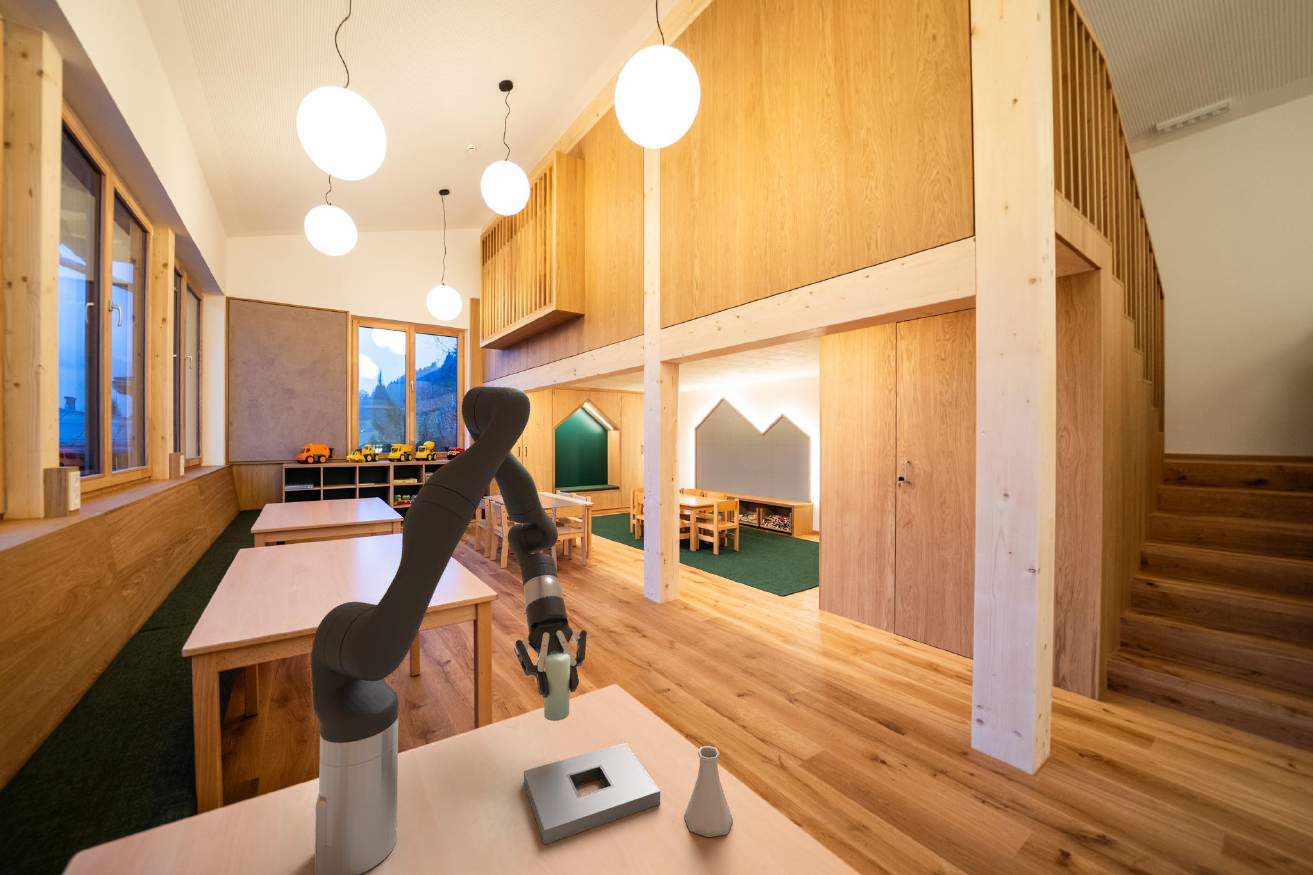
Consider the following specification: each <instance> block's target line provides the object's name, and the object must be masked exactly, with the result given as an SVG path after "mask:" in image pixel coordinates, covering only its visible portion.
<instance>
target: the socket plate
mask: <svg viewBox="0 0 1313 875" xmlns="http://www.w3.org/2000/svg"><path fill="white" fill-rule="evenodd" d="M597 780H600V782H601V783H602V786H604V787H603V788H600V789H597V790H595V791H594V790H593V791H590V792H588V793H584V794H582V795H580V794H579V792H578V790H577V788H576V787H577V786H580V785H585V784H587V783H590V782H594V781H597ZM523 785H524V788H525V791H526V794H527V798H528V800H529V803H530V806H531V809H532V813H533V815H534V818H535V821H536V824H537V827H538V830H539V832H540V836H541V839H542V842H543V845H545V846H546V845H548V844H550V843H554V842H556V841H560V840H562V839H565V838H568V837H570V836H573V835H576V834H579V833H581V832H585V831H587V830H590V829H594V828H596V827H598V826H602V825H604V824H607V823H610V822H613V821H616V820H618V819H623V818H624V817H627V816H630V815H633V814H636V813H638V812H641V811H644V810H646V809H649V808H650V809H651V808H653V807H656V806H657V805H658V806H659V805H661V790H660V788H659V786H657V784H656V783H655V782H654V780H653V778H652V777H651V776H650V775H649V773H648V772H647V771H646V769H645V768H644V767H643V764H642V763H641V762H640V761H639V759H638V758H637V757H636V755H635V754H634V753H633V751H632V749H631V748H630V747H629V745H628V744H627V743H626V742H621V743H618V744H614V745H612V746H607V747H604V748H601V749H597V750H593V751H590V752H585V753H583V754H579V755H576V756H572V757H568V758H565V759H561V760H558V761H554V762H551V763H548V764H547V763H546V764H544V765H540V766H535V767H533V768H530V769H526V770H523Z"/></svg>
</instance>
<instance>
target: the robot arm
mask: <svg viewBox="0 0 1313 875" xmlns="http://www.w3.org/2000/svg"><path fill="white" fill-rule="evenodd" d="M530 414H531V400H530V397H529V396H528V394H527V393H525V392H524V391H523V390H521V389H519V388H514V387H508V386H507V387H506V386H484V385H483V386H482V385H481V386H475V387H474V386H473V387H472V388H470V389H469V390H468V391H467V392H465V395H464V396H463V399H462V402H461V416H462V420H463V422H464V425H465V427H466V430H467V431H468V433H469V435H470V437H471V439H472V441H473V444H471V445H470V446H469V447H468V448H466V449H465V450H464V451H462V452H461V453H459V454H458V455H457V456H454V457H453V458H452V459H451V460H449V461H447V462H446V463H444V464H443V465H442V466H440V467H439V468H438V469H437V470H435V471H434V473H431V475H430V476H429V477H428V478H427V480H426V481H425V482H424V483H423V485H422V486H421V488H420V489H419V491H418V493H417V494H416V496H415V498H414V499H413V501H412V502H411V504H410V506H409V508H408V510H407V511H406V514H405V517H404V520H403V523H402V536H401V537H402V538H401V542H402V543H401V555H400V556H401V557H400V561H399V565H398V568H397V571H396V573H395V575H394V577H393V578H392V579H393V580H392V581H391V582H390V584H389V586H388V588H387V590H386V591H385V593H384V594H383V596H382V597H381V599H380V600H379V602H378V603H377V604H373V603H368V602H363V601H348V602H344V603H341V604H339V605H337V606H336V607H334V608H332V609H331V610H330V611H328V612H327V614H325V616H324V617H323V618H322V620H321V621H320V623H319V624H318V627H317V629H316V632H315V634H314V638H313V640H312V648H311V684H312V685H311V686H312V706H313V711H314V713H315V716H316V718H317V719H318V723H319V772H318V773H319V776H318V778H319V781H318V795H317V799H316V803H315V818H314V819H315V821H314V822H315V824H314V825H315V828H314V829H315V830H314V832H315V833H314V875H362V874H363V873H366V872H368V871H370V870H371V869H373V868H374V867H376V866H378V865H379V864H380V863H382V862H383V861H384V860H385V859H387V857H388V856H389V855H390V854H391V853H392V851H393V850H394V848H395V847H396V846H395V845H396V844H397V837H398V835H397V833H398V781H399V780H398V776H399V774H398V771H399V768H398V767H399V766H398V764H399V711H400V710H399V709H400V708H399V704H400V701H399V697H398V695H397V692H396V691H395V690H394V689H393V688H392V687H391V685H389V684H388V683H387V682H386V681H385V679H386V678H387V677H388V676H390V675H391V674H392V673H394V672H395V671H396V670H397V669H398V668H399V667H400V665H401V664H402V663H403V661H404V660H405V658H406V657H407V655H408V654H409V652H410V650H411V647H412V646H413V643H414V642H415V639H416V637H417V635H418V633H419V630H420V627H421V625H422V623H423V621H424V618H425V615H426V613H427V610H428V609H429V606H430V603H431V600H432V598H433V597H434V594H435V592H436V589H437V587H438V585H439V582H440V580H441V579H442V576H443V575H444V572H445V570H446V569H447V566H448V564H449V562H450V560H451V558H452V556H453V555H454V552H455V551H456V549H457V547H458V544H459V543H460V541H461V539H462V538H463V537H464V536H463V535H464V534H465V533H466V530H467V529H468V527H469V525H470V523H471V521H472V519H473V518H474V516H475V514H476V512H477V510H478V508H479V506H480V503H481V501H482V499H483V497H484V495H485V494H486V492H487V490H488V488H489V486H490V484H491V483H492V481H493V479H494V480H495V482H496V485H497V487H498V490H499V492H500V495H501V497H502V501H503V504H504V507H505V510H506V512H507V513H506V514H507V515H508V518H509V519H510V520H511V521H512V522H515V523H516V524H514V525H512V526H511V527H510V528H509V530H508V532H507V537H506V538H507V543H508V545H509V547H510V549H511V551H512V554H514V557H515V559H516V560H517V563H518V566H519V569H520V573H521V578H522V585H523V599H524V600H523V601H524V609H525V615H526V622H527V628H528V636H527V638H525V639H523V640H521V639H518V640H516V641H515V644H514V647H513V652H514V653H515V657H517V659H518V662H519V663H520V666H521V668H522V670H523V673H524V674H525V676H527V677H528V676H534V677H535V678H536V685H537V690H538V694H539V696H542V698H543V699H544V698H546V697H548V695H549V687H548V681H547V675H546V672H545V658H546V656H548V655H550V654H553V653H566V654H568V655H570V693H574V692H576V690H577V689H578V686H579V685H580V679H579V674H578V670H577V669H578V667H581V666H582V665H583V663H584V661H585V660H586V651H587V650H586V649H587V648H586V647H587V635H588V634H587V630H586V629H582V630H581V631H574V630H573V629H572V627H570V625H569V624H570V623H569V618H568V615H567V609H566V604H565V599H564V594H563V590H562V587H561V584H560V580H559V576H558V572H557V566H556V562H555V559H554V558H553V557H552V555H551V554H547V553H538V552H541V551H545V550H549V549H551V548H553V547H554V546H555V545H556V544H557V542H558V538H559V537H558V536H559V533H558V532H559V531H558V529H557V527H556V525H555V522H554V521H553V520H552V519H551V517H550V516H549V514H548V513H547V512H546V511H545V509H544V507H543V505H542V503H541V501H540V497H539V493H538V489H537V486H536V483H535V481H534V478H533V477H532V475H531V473H530V472H529V471H528V469H527V468H526V466H524V464H523V463H522V462H521V461H520V460H519V459H518V458H517V457H516V456H515V454H514V453H513V452H512V450H513V448H514V446H515V445H516V444H517V442H518V440H519V439H520V437H521V436H522V434H523V432H524V431H525V429H526V426H527V424H528V422H529V419H530ZM571 639H572V640H573V641H574V644H575V645H576V655H575V656H576V657H574V655H573V653H572V652H573V651H572V648H571V646H570V641H571ZM529 647H531V648H532V649H533V650H534V652H536V653H537V658H536V665H535V664H534V663H533V661H532V659H531V657H530V655H529V653H528V650H529Z"/></svg>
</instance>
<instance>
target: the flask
mask: <svg viewBox="0 0 1313 875" xmlns="http://www.w3.org/2000/svg"><path fill="white" fill-rule="evenodd" d="M697 756H698V757H699V767H698V768H699V769H698V773H697V778H696V781H695V783H694V787H693V790H692V793H691V796H690V799H689V801H688V805H687V807H686V809H685V812H684V815H683V817H684V819H685V823H686V825H687V827H688V830H689V831H690V832H692V833H695V834H698V835H701V836H704V837H707V838H711V837H718V836H724V835H728V834H729V831H730V829H731V827H732V824H733V821H734V819H733V817H732V816H733V815H732V813H731V810H730V807H729V805H728V801H727V797H726V795H725V793H724V792H725V791H724V788H723V786H722V783H721V779H720V774H719V773H720V772H719V767H718V761H719V760H718V759H719V758H720V752H719V750H718V748H717V747H715V746H710V745H705V746H700V747H699V749H698V751H697Z"/></svg>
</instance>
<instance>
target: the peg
mask: <svg viewBox="0 0 1313 875" xmlns="http://www.w3.org/2000/svg"><path fill="white" fill-rule="evenodd" d="M544 672H546V675H547V681H548V687H549V695H548V697H546V698H543V699H544V703H543V704H544V706H543V707H544V708H543V710H544V711H543V717H544V718H545V720H548V721H551V722H557V721H562V720H564V719H566V718H568V717H569V715H570V695H571V694H570V693H571V692H570V655H568V654H566V653H553V654H550V655H548V656H546V658H545V668H544Z"/></svg>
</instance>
